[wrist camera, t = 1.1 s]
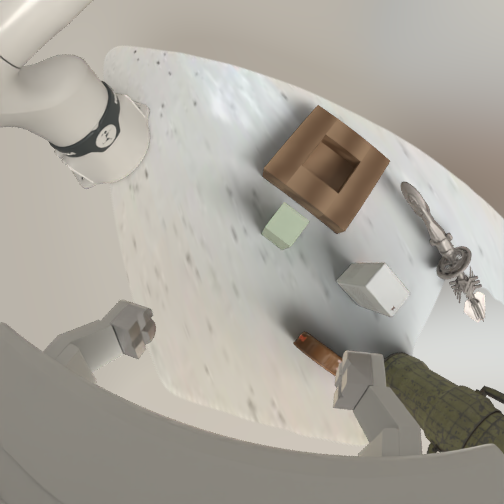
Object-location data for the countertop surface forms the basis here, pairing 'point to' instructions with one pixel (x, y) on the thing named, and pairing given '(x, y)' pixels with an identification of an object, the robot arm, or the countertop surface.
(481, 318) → the spaceship
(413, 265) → the countertop surface
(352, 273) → the skincare box
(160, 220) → the countertop surface
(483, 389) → the thermos
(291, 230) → the green block
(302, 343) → the tin
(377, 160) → the walnut holder
